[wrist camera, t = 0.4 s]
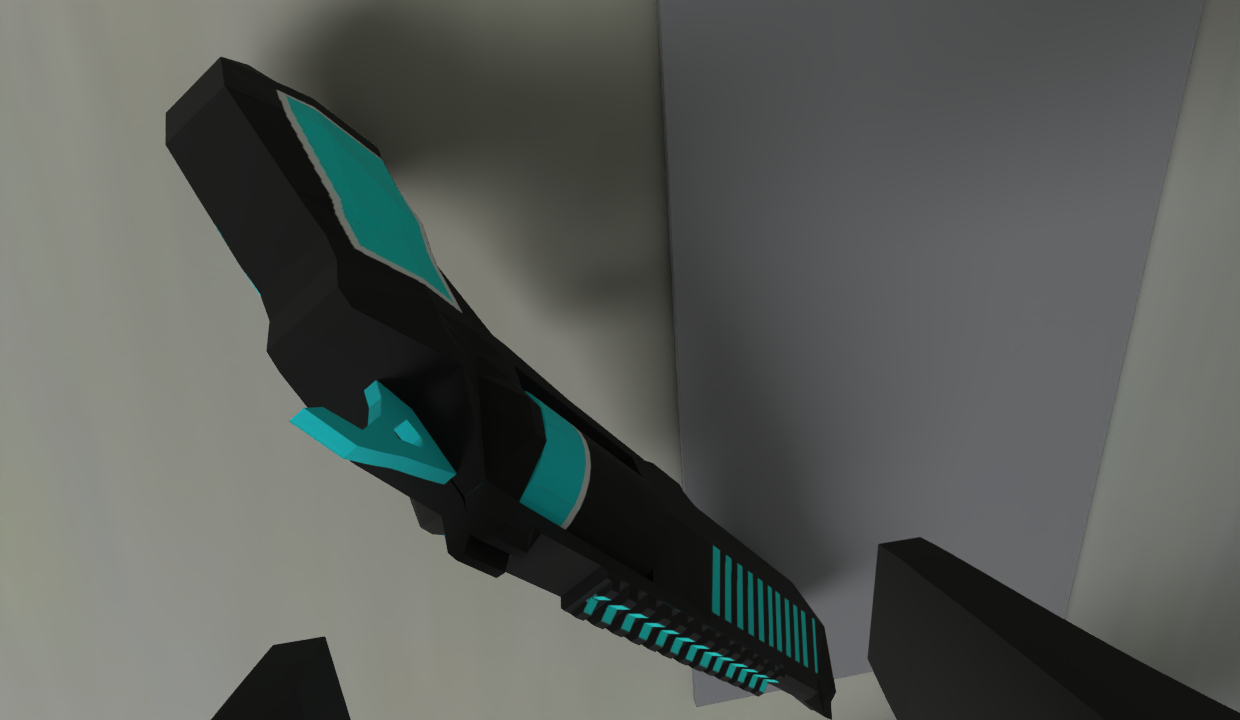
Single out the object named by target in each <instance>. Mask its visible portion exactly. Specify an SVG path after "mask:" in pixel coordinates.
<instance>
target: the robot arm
mask: <svg viewBox="0 0 1240 720" xmlns="http://www.w3.org/2000/svg"><path fill="white" fill-rule="evenodd" d="M867 659H868V661H869V663H870V665H871V667H872V669H873V672H874V674H875V676H876V678H877V680H878V682H879V684H880V686H881V688H882V691H883V693H884V695H885V697H886V699H887V701H888V703H889V705H890V707H891V709H892V711H893V713H894V715H895V717H896V719H897V720H1240V713H1239V712H1237V711H1235V710H1233V709H1231V708H1229V707H1227V706H1225V705H1223V704H1221V703H1219V702H1217V701H1215V700H1213V699H1211V698H1209V697H1207V696H1205V695H1203V694H1201V693H1199V692H1197V691H1195V690H1194V689H1192V688H1190V687H1188V686H1186V685H1184V684H1182V683H1180V682H1178V681H1176V680H1174V679H1172V678H1170V677H1169V676H1167V675H1165V674H1163V673H1161V672H1159V671H1157V670H1155V669H1153V668H1151V667H1149V666H1147V665H1146V664H1144V663H1142V662H1140V661H1138V660H1136V659H1135V658H1133V657H1131V656H1129V655H1127V654H1125V653H1124V652H1122V651H1120V650H1118V649H1116V648H1114V647H1112V646H1111V645H1109V644H1107V643H1105V642H1104V641H1102V640H1100V639H1098V638H1096V637H1095V636H1093V635H1091V634H1089V633H1087V632H1086V631H1084V630H1082V629H1080V628H1079V627H1077V626H1075V625H1073V624H1072V623H1070V622H1068V621H1066V620H1065V619H1063V618H1061V617H1059V616H1058V615H1056V614H1054V613H1052V612H1051V611H1049V610H1047V609H1045V608H1044V607H1042V606H1040V605H1039V604H1037V603H1035V602H1033V601H1032V600H1030V599H1028V598H1026V597H1025V596H1023V595H1021V594H1020V593H1018V592H1016V591H1015V590H1013V589H1011V588H1009V587H1008V586H1006V585H1004V584H1003V583H1001V582H999V581H997V580H996V579H994V578H992V577H991V576H989V575H987V574H986V573H984V572H982V571H980V570H979V569H977V568H975V567H974V566H972V565H970V564H968V563H967V562H965V561H963V560H961V559H960V558H958V557H956V556H954V555H953V554H951V553H949V552H947V551H946V550H944V549H942V548H940V547H938V546H937V545H935V544H933V543H931V542H929V541H927V540H925V539H923V538H921V537H917V538H911V539H905V540H899V541H893V542H887V543H881V544H878V552H877V562H876V573H875V583H874V594H873V605H872V615H871V626H870V636H869V647H868V658H867ZM211 720H351V719H350V716H349V713H348V710H347V706H346V703H345V700H344V697H343V693H342V690H341V687H340V684H339V680H338V677H337V674H336V670H335V667H334V664H333V661H332V657H331V654H330V651H329V648H328V644H327V641H326V638H325V637H319V638H313V639H307V640H301V641H295V642H289V643H283V644H277V645H273V646H272V647H271V648H270V649H269V651H268V652H267V653H266V654H265V655H264V656H263V658H262V659H261V660H260V661H259V662H258V664H257V665H256V666H255V667H254V668H253V669H252V671H251V672H250V673H249V674H248V675H247V677H246V678H245V679H244V680H243V681H242V683H241V684H240V685H239V686H238V687H237V689H236V690H235V691H234V692H233V693H232V695H231V696H230V697H229V698H228V700H227V701H226V702H225V703H224V704H223V706H222V707H221V708H220V709H219V710H218V712H217V713H216V714H215V715H214V717H213V718H212V719H211Z"/></svg>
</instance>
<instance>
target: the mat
mask: <svg viewBox="0 0 1240 720" xmlns="http://www.w3.org/2000/svg"><path fill="white" fill-rule="evenodd" d="M1204 1H1205V0H657V13H658V32H659V51H660V69H661V88H662V107H663V126H664V145H665V164H666V182H667V201H668V220H669V239H670V258H671V276H672V295H673V314H674V333H675V352H676V370H677V389H678V408H679V427H680V446H681V464H682V483H683V492H684V493H685V494H686V495H687V496H688V498H689V499H690V500H691V501H692V503H693V504H694V505H695V506H696V507H697V508H698V509H699V510H701V511H702V512H703V513H704V514H706V515H707V516H708V517H710V518H711V519H712V520H713V521H715V522H716V523H717V524H719V525H720V526H721V527H722V528H724V529H725V530H726V531H727V532H729V533H730V534H731V535H733V536H734V537H735V538H736V539H738V540H739V541H740V542H741V543H743V544H744V545H745V546H747V547H748V548H749V549H750V550H752V551H753V552H754V553H756V554H757V555H758V556H759V557H761V558H762V559H763V560H764V561H766V562H767V563H768V564H770V565H771V566H772V567H773V568H775V569H776V570H777V571H778V572H780V573H781V574H782V575H784V576H785V577H786V578H787V579H789V580H790V581H791V582H792V583H793V584H794V585H795V587H796V588H797V590H798V591H799V592H800V594H801V595H802V596H803V598H804V599H805V601H806V602H807V603H808V605H809V606H810V607H811V609H812V610H813V611H814V613H815V614H816V616H817V617H818V618H819V620H820V621H821V622H822V624H823V625H824V627H825V633H826V638H827V644H828V649H829V655H830V661H831V666H832V672H833V678H834V679H837V678H842V677H847V676H852V675H857V674H862V673H867V672H872V671H873V669H872V667H871V665H870V663H869V661H868V659H867V658H868V647H869V636H870V626H871V615H872V605H873V594H874V583H875V573H876V562H877V552H878V544H881V543H887V542H893V541H899V540H905V539H911V538H917V537H921V538H923V539H925V540H927V541H929V542H931V543H933V544H935V545H937V546H938V547H940V548H942V549H944V550H946V551H947V552H949V553H951V554H953V555H954V556H956V557H958V558H960V559H961V560H963V561H965V562H967V563H968V564H970V565H972V566H974V567H975V568H977V569H979V570H980V571H982V572H984V573H986V574H987V575H989V576H991V577H992V578H994V579H996V580H997V581H999V582H1001V583H1003V584H1004V585H1006V586H1008V587H1009V588H1011V589H1013V590H1015V591H1016V592H1018V593H1020V594H1021V595H1023V596H1025V597H1026V598H1028V599H1030V600H1032V601H1033V602H1035V603H1037V604H1039V605H1040V606H1042V607H1044V608H1045V609H1047V610H1049V611H1051V612H1052V613H1054V614H1056V615H1058V616H1059V617H1061V618H1063V619H1065V616H1066V612H1067V607H1068V603H1069V598H1070V594H1071V590H1072V585H1073V581H1074V576H1075V572H1076V567H1077V563H1078V559H1079V554H1080V550H1081V545H1082V541H1083V537H1084V532H1085V528H1086V523H1087V519H1088V514H1089V510H1090V506H1091V501H1092V497H1093V492H1094V488H1095V483H1096V479H1097V475H1098V470H1099V466H1100V461H1101V457H1102V453H1103V448H1104V444H1105V439H1106V435H1107V430H1108V426H1109V422H1110V417H1111V413H1112V408H1113V404H1114V399H1115V395H1116V391H1117V386H1118V382H1119V377H1120V373H1121V368H1122V364H1123V360H1124V355H1125V351H1126V346H1127V342H1128V338H1129V333H1130V329H1131V324H1132V320H1133V315H1134V311H1135V307H1136V302H1137V298H1138V293H1139V289H1140V284H1141V280H1142V276H1143V271H1144V267H1145V262H1146V258H1147V254H1148V249H1149V245H1150V240H1151V236H1152V231H1153V227H1154V223H1155V218H1156V214H1157V209H1158V205H1159V200H1160V196H1161V192H1162V187H1163V183H1164V178H1165V174H1166V169H1167V165H1168V161H1169V156H1170V152H1171V147H1172V143H1173V139H1174V134H1175V130H1176V125H1177V121H1178V116H1179V112H1180V108H1181V103H1182V99H1183V94H1184V90H1185V85H1186V81H1187V77H1188V72H1189V68H1190V63H1191V59H1192V55H1193V50H1194V46H1195V41H1196V37H1197V32H1198V28H1199V24H1200V19H1201V15H1202V10H1203V6H1204ZM692 671H693V690H694V701H695V705H696V707H699V706H704V705H709V704H714V703H719V702H724V701H729V700H734V699H739V698H744V697H749V696H754V694H752V693H751V692H747V691H744V690H742V689H741V688H739V687H735V686H733V685H731V684H729V683H728V682H724V681H721V680H719V679H718V678H716V677H715V676H710V675H708V674H706V673H704V672H703V671H702V672H700V671H698V670H695V669H693V668H692ZM778 690H781V689H779V688H777V687H775V686H773V685H771V684H768V685H767V687H766V690H765V693H768V692H773V691H778Z"/></svg>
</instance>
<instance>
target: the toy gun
mask: <svg viewBox="0 0 1240 720" xmlns="http://www.w3.org/2000/svg"><path fill="white" fill-rule="evenodd" d="M166 146H167V148H168V149H169V151H170V153H171V154H172V156H173V158H174V159H175V161H176V162H177V164H178V166H179V167H180V169H181V171H182V172H183V174H184V176H185V177H186V179H187V180H188V182H189V184H190V185H191V187H192V189H193V190H194V192H195V194H196V195H197V197H198V198H199V200H200V202H201V203H202V205H203V206H204V208H205V210H206V211H207V213H208V214H209V216H210V218H211V219H212V221H213V223H214V224H215V226H216V228H217V230H218V231H219V233H220V234H221V236H222V238H223V239H224V241H225V242H226V244H227V245H228V247H229V249H230V250H231V252H232V253H233V255H234V257H235V258H236V260H237V262H238V263H239V265H240V266H241V268H242V269H243V270H244V272H245V274H246V275H247V277H248V278H249V280H250V281H251V283H252V284H253V286H254V287H255V289H256V290H257V291H258V293H259V294H260V296H261V298H262V301H263V304H264V306H265V309H266V312H267V315H268V318H269V320H270V323H269V332H268V342H267V353H268V354H269V356H270V358H271V359H272V361H273V362H274V364H275V366H276V367H277V369H278V370H279V372H280V373H281V375H282V376H283V377H284V378H285V380H286V381H287V382H288V383H289V385H290V386H291V387H292V388H293V390H294V391H295V392H296V393H297V395H298V396H299V397H300V398H301V400H302V401H303V402H304V404H305V405H306V406H307V407H308V408H303V409H302V410H301V411H300V412H299V413H298V414H297V415H295V416H294V417H293V418H292V419H291V420H290V421H289V422H291V423H292V424H293V425H295V426H296V427H298V428H299V429H301V430H302V431H304V432H305V433H307V434H308V435H309V436H311V437H312V438H314V439H315V440H317V441H318V442H320V443H321V444H323V445H324V446H325V447H327V448H328V449H330V450H331V451H333V452H334V453H336V454H337V455H339V456H340V457H341V458H343V459H347V460H350V461H351V462H352V463H354V464H355V465H357V466H359V467H360V468H362V469H364V470H365V471H367V472H369V473H370V474H372V475H374V476H375V477H377V478H379V479H380V480H382V481H384V482H385V483H387V484H389V485H390V486H392V487H394V488H395V489H397V490H399V491H401V492H402V493H404V494H406V495H407V496H409V497H410V500H411V503H412V506H413V508H414V511H415V514H416V516H417V519H418V522H419V525H420V527H421V528H423V529H424V530H426V531H428V532H430V533H431V534H437V535H443V536H445V539H446V545H447V550H448V553H449V554H450V555H451V556H452V557H453V558H454V559H456V560H457V561H459V562H461V563H464V564H466V565H468V566H471V567H473V568H475V569H477V570H480V571H482V572H484V573H486V574H489V575H491V576H493V577H495V578H497V577H499V576H500V575H502V574H504V573H505V572H507V573H509V574H511V575H514V576H516V577H518V578H520V579H522V580H525V581H527V582H529V583H531V584H534V585H536V586H538V587H540V588H542V589H545V590H547V591H549V592H551V593H554V594H556V595H558V596H560V597H561V608H562V609H563V610H564V611H566V612H568V613H570V614H572V615H573V616H574V617H576V618H578V619H581V620H583V621H584V620H585V619H586V620H587V621H589V622H590V623H591V624H593V625H594V626H596V627H599V628H601V629H604V628H606V629H608V630H609V631H610V632H612V633H613V634H615V635H618V636H620V637H623V636H624V637H626V638H627V639H628V640H630V641H631V642H633V643H635V644H638V645H641V644H642V645H643V646H645V647H646V648H648V649H650V650H652V651H654V652H656V651H658V652H659V653H660V654H662V655H663V656H666V657H668V658H670V659H671V658H674V659H675V660H676V661H678V662H679V663H682V664H684V665H689V666H690V667H691V668H693V669H695V670H698V671H700V672H702V671H703V672H704V673H706V674H708V675H710V676H715V677H716V678H718V679H719V680H721V681H724V682H728V683H729V684H731V685H733V686H735V687H739V688H741V689H742V690H744V691H747V692H751V693H752V694H754V695H756V696H760V695H762V694H764V693H765V690H766V687H767V685H768V684H771V685H773V686H775V687H777V688H779V689H781V690H783V691H785V692H787V693H789V694H791V695H793V696H794V697H795V698H796V699H798V700H799V701H800V702H801V703H803V704H804V705H805V706H806V707H808V708H809V709H810V710H814V711H816V712H818V713H819V714H821V715H822V716H824V717H826V718H829V719H831V720H832V713H831V701H832V699H833V697H834V695H835V693H836V689H835V683H834V678H833V672H832V666H831V661H830V655H829V649H828V644H827V638H826V633H825V627H824V625H823V624H822V622H821V621H820V620H819V618H818V617H817V616H816V614H815V613H814V611H813V610H812V609H811V607H810V606H809V605H808V603H807V602H806V601H805V599H804V598H803V596H802V595H801V594H800V592H799V591H798V590H797V588H796V587H795V585H794V584H793V583H792V582H791V581H790V580H789V579H787V578H786V577H785V576H784V575H782V574H781V573H780V572H778V571H777V570H776V569H775V568H773V567H772V566H771V565H770V564H768V563H767V562H766V561H764V560H763V559H762V558H761V557H759V556H758V555H757V554H756V553H754V552H753V551H752V550H750V549H749V548H748V547H747V546H745V545H744V544H743V543H741V542H740V541H739V540H738V539H736V538H735V537H734V536H733V535H731V534H730V533H729V532H727V531H726V530H725V529H724V528H722V527H721V526H720V525H719V524H717V523H716V522H715V521H713V520H712V519H711V518H710V517H708V516H707V515H706V514H704V513H703V512H702V511H701V510H699V509H698V508H697V507H696V506H695V505H694V504H693V503H692V501H691V500H690V499H689V498H688V496H687V495H686V494H685V493H684V492H683V490H682V488H681V486H680V485H679V484H678V483H677V482H676V481H674V480H673V479H672V478H671V477H669V476H668V475H667V474H666V473H664V472H663V471H662V470H661V469H659V468H658V467H657V466H656V465H655V464H653V463H651V462H647V461H645V460H644V459H642V458H641V457H640V456H639V455H637V454H636V453H635V452H634V451H632V450H631V449H630V448H628V447H627V446H626V445H625V444H623V443H622V442H621V441H620V440H618V439H617V438H616V437H615V436H613V435H612V434H611V433H610V432H608V431H607V430H606V429H605V428H603V427H602V426H601V425H600V424H598V423H597V422H596V421H594V420H593V419H592V418H591V417H589V416H588V415H587V414H586V413H584V412H583V411H582V410H581V409H579V408H578V407H577V406H575V405H574V404H573V403H572V402H570V401H569V400H568V399H567V398H566V397H564V396H563V395H562V394H561V393H560V392H559V391H558V390H556V389H555V388H554V387H553V386H552V385H551V384H549V383H548V382H547V381H546V380H545V379H544V378H543V377H541V376H540V375H539V374H538V373H537V372H536V371H535V370H533V369H532V368H531V367H530V366H529V365H528V364H526V363H525V362H524V361H523V360H522V359H521V358H520V357H518V356H517V355H516V354H515V353H514V352H513V351H512V350H510V349H509V348H508V347H507V346H506V345H504V344H503V343H502V342H501V341H499V340H498V339H497V338H496V337H494V336H493V335H492V334H491V333H490V331H489V330H488V329H487V328H486V326H485V325H484V324H483V323H482V321H481V320H480V319H479V318H478V316H477V315H476V314H475V313H474V311H473V310H472V309H471V308H470V306H469V305H468V304H467V303H466V301H465V300H464V299H463V298H462V296H461V295H460V294H459V292H458V291H457V290H456V289H455V287H454V286H453V285H452V284H451V282H450V281H449V280H448V279H447V277H446V276H445V275H444V274H443V272H442V271H441V270H440V269H439V267H438V266H437V264H436V262H435V259H434V257H433V255H432V252H431V249H430V246H429V242H428V239H427V236H426V233H425V230H424V227H423V224H422V223H421V221H420V220H419V218H418V217H417V216H416V214H415V213H414V212H413V210H412V209H411V207H410V206H409V205H408V203H407V202H406V200H405V199H404V198H403V196H402V195H401V194H400V192H399V190H398V188H397V186H396V185H395V183H394V181H393V179H392V177H391V175H390V174H389V172H388V170H387V168H386V166H385V165H384V163H383V161H382V159H381V156H380V153H379V150H378V148H377V147H375V146H374V145H373V144H372V143H370V142H369V141H368V140H366V139H365V138H364V137H362V136H361V135H360V134H358V133H357V132H356V131H355V130H353V129H352V128H351V127H349V126H348V125H347V124H345V123H344V122H343V121H341V120H340V119H339V118H338V117H336V116H335V115H334V114H332V113H331V112H330V111H328V110H327V109H326V108H324V107H323V106H322V105H320V104H319V103H318V102H317V101H315V100H314V99H313V98H311V97H308V96H306V95H304V94H302V93H300V92H297V91H295V90H293V89H291V88H288V87H286V86H284V85H282V84H280V83H277V82H275V81H274V80H272V79H270V78H269V77H267V76H265V75H264V74H262V73H261V72H259V71H257V70H256V69H254V68H252V67H251V66H249V65H247V64H243V63H240V62H237V61H233V60H230V59H227V58H223V57H220V58H219V59H218V60H217V61H216V62H215V63H214V64H213V65H212V66H211V67H210V68H209V69H208V70H207V71H206V72H205V73H204V74H203V75H202V76H201V77H200V78H199V79H198V81H197V82H196V83H195V84H194V85H193V86H192V87H191V88H190V89H189V90H188V91H187V92H186V93H185V94H184V95H183V96H182V97H181V98H180V99H179V100H178V101H177V102H176V103H175V104H174V105H173V106H172V107H171V108H170V109H169V110H168V111H167V112H166Z"/></svg>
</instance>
